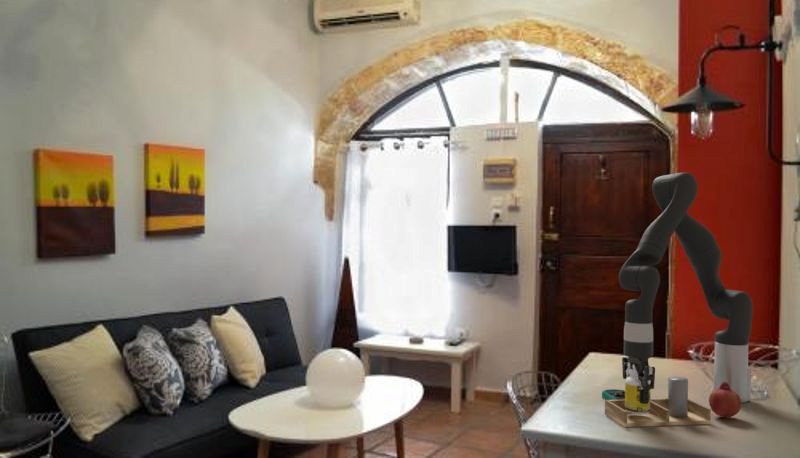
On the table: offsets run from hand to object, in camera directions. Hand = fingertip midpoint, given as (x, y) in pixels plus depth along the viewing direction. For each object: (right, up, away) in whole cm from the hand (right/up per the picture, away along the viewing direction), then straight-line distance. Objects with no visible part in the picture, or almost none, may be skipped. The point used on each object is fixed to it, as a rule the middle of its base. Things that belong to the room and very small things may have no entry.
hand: (637, 399), depth 184 cm
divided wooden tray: (+6, -6, +1) cm, 8 cm away
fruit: (+25, -6, +3) cm, 26 cm away
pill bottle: (0, -3, 0) cm, 3 cm away
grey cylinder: (+12, -5, +1) cm, 12 cm away
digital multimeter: (+1, -6, +17) cm, 18 cm away
